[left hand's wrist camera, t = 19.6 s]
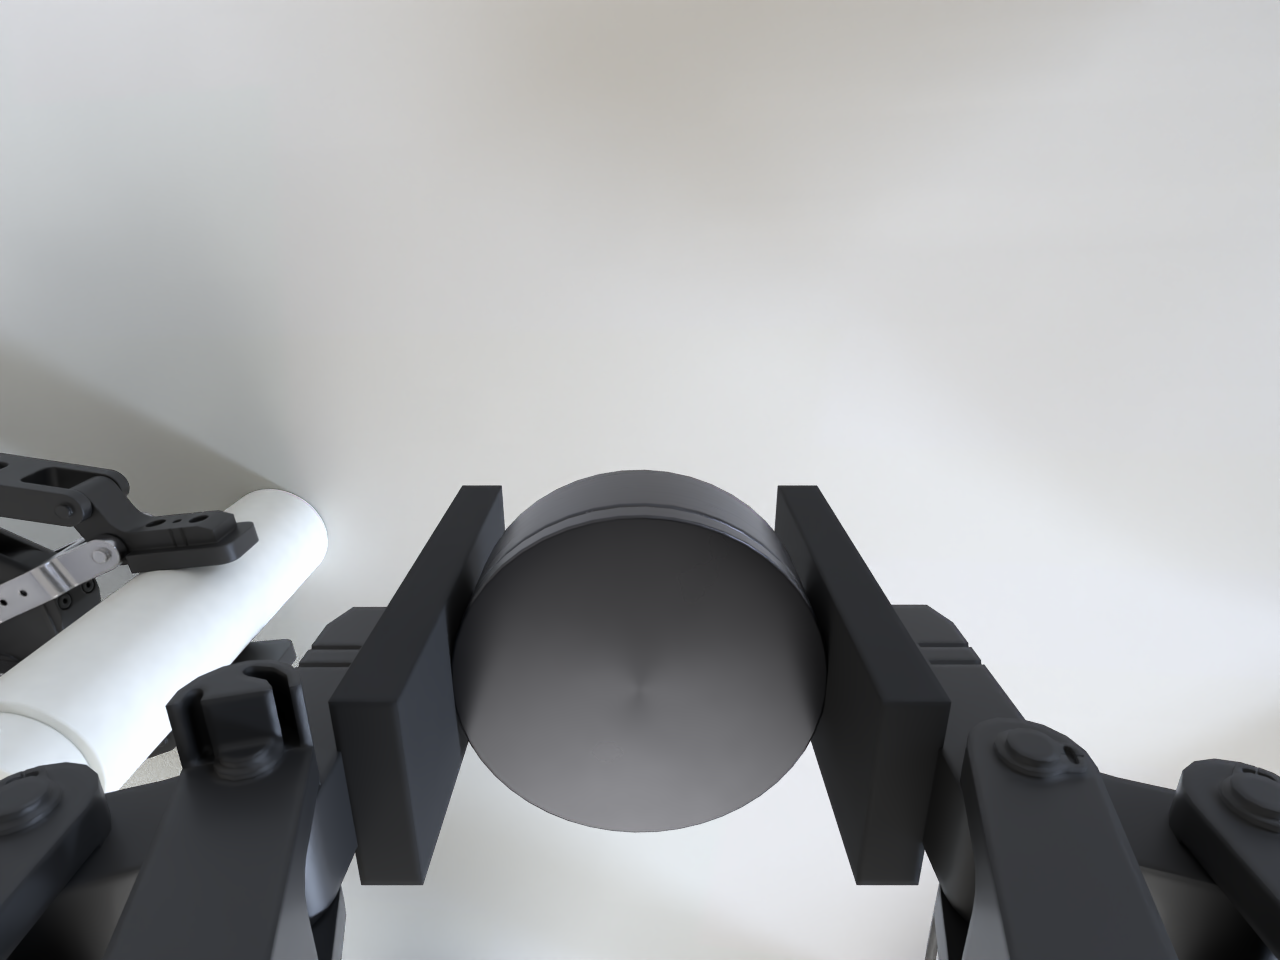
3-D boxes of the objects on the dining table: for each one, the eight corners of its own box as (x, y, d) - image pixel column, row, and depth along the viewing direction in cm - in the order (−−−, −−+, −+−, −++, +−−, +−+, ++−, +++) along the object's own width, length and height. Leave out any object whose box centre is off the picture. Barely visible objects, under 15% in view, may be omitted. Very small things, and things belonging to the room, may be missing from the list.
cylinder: (217, 492, 33) (-158, 749, 18) (315, 484, 33) (23, 737, 18) (244, 580, 35) (-77, 886, 19) (338, 573, 35) (89, 877, 19)
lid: (785, 754, 13) (807, 837, 11) (483, 747, 13) (460, 829, 11) (820, 472, 11) (852, 521, 9) (468, 462, 11) (437, 509, 9)
